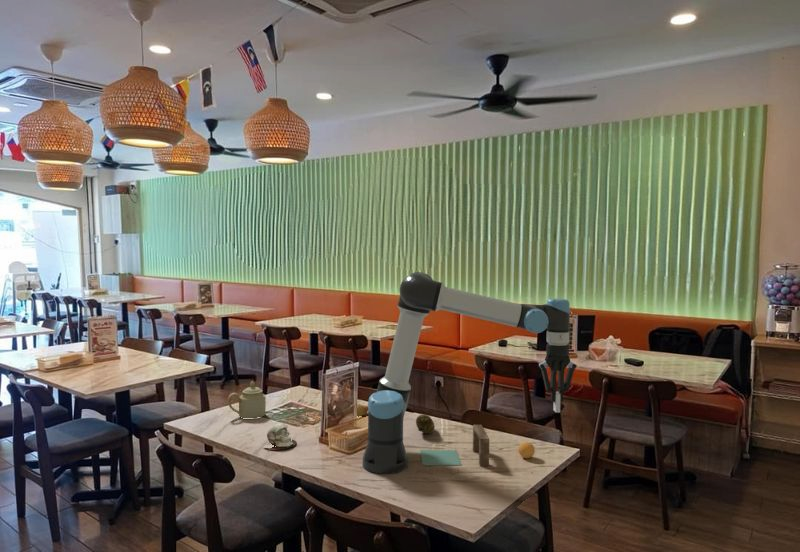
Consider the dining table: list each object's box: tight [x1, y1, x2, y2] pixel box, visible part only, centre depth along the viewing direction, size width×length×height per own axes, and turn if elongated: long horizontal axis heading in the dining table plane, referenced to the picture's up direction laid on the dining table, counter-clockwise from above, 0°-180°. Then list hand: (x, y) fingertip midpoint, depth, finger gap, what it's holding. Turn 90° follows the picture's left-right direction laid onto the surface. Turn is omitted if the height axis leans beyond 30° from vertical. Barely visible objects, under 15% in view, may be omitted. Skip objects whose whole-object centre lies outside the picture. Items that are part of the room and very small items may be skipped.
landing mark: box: [419, 449, 463, 466], centre depth 181 cm, size 13×13×1 cm
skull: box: [266, 423, 297, 451], centre depth 191 cm, size 12×10×10 cm
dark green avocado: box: [415, 414, 436, 434], centre depth 206 cm, size 8×13×8 cm, turn 152°
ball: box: [518, 441, 536, 459], centre depth 182 cm, size 6×6×6 cm
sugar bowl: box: [227, 380, 267, 419], centre depth 223 cm, size 15×11×15 cm
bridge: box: [472, 424, 490, 467], centre depth 181 cm, size 3×14×9 cm, turn 2°
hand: (556, 411), depth 182 cm, fingers closed
